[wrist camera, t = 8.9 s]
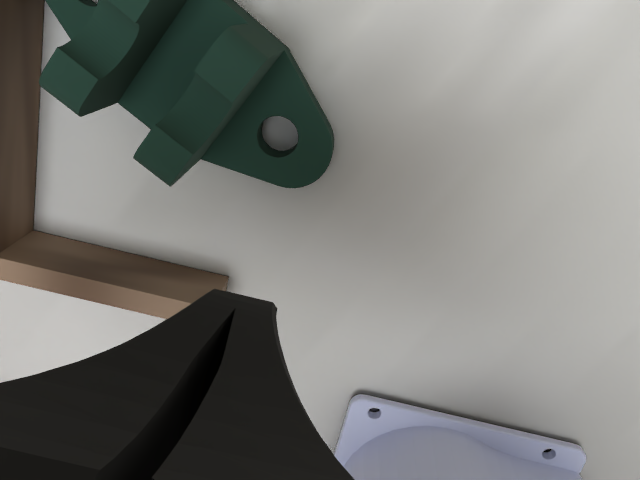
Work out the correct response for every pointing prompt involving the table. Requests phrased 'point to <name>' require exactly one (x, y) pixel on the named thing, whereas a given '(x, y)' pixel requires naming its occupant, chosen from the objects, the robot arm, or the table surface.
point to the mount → (190, 85)
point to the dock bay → (19, 196)
